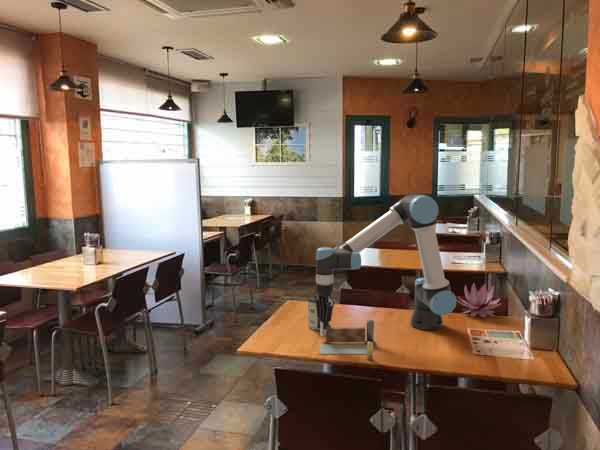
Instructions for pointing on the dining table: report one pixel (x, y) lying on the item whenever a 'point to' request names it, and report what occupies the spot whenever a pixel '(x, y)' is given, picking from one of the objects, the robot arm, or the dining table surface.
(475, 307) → the decorative flower
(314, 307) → the coffee can
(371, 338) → the hinge post
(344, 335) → the gate
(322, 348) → the mat
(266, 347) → the dining table surface
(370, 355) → the post
